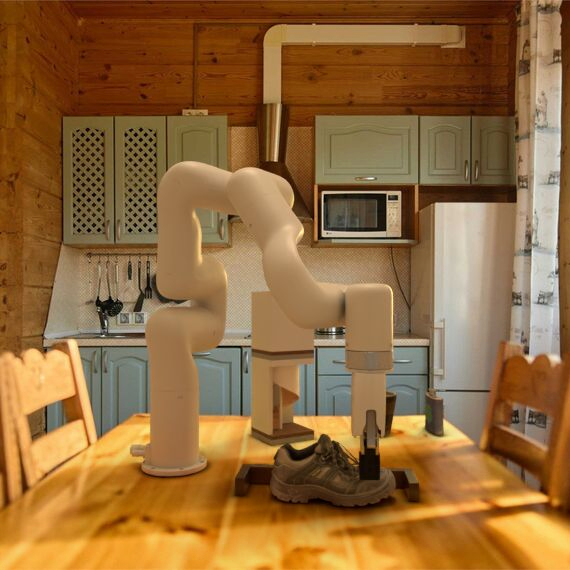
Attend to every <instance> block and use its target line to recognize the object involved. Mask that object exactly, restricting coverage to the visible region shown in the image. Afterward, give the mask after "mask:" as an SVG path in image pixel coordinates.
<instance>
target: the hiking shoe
mask: <svg viewBox="0 0 570 570" xmlns="http://www.w3.org/2000/svg"><path fill="white" fill-rule="evenodd" d="M343 448H344V449H343ZM344 450H345V451H344ZM272 460H273V465H274V468H273V470H272V478H271V481H270V484H269V489H270V492H271V494H272V495H273V496H275V497H277V499H278V500H279V501H280V500H281V501H283V502H287V503H289V502H290V501H291V503H294V504H297V503H298V502H299V503H300V504H308V502H309V500H313V499H320V500H323V501H326V502H331V504H332V505H333V506H337V507H341V506H343V507H352V508H353V507H355V506H359V507H362V506H366V505H369V504H371V505H373V504H377V503H380V502H381V500H382V499H387V498H389V496H390V495H392V494H393V493H395V490H396V489H397V488H396V482H395V477H394V475H393V473H392V472H391V471H390V470H389V469H385V468H386V467H383V466H380V480H361V479H360V478H359V458H357V457H355V456H354V455H353V454H352V453H351V452H350V451H349V450H348V449H347V448H346V447H345V446H343V445H341V443H340V442H339V441H336V440H335V439H333V440H332V438H331V437H330V436H329V434H327V433H322V434H320V435H319V438H318V439H317V442H313V443H312V444H310V445H308V446H306V447H304V448H301V449H300V448H299V449H297V448H295V447H294V446H292V445H291V443H285V444H281V446H279V448H278V449H277V450H276V452H275V454H274V456H273V458H272ZM349 460H351V461H352V462H353V463H351V462H350V461H349Z"/></svg>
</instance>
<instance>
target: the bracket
mask: <svg viewBox="0 0 570 570" xmlns="http://www.w3.org/2000/svg"><path fill="white" fill-rule="evenodd" d="M273 468H274V464H265V463H264V464H263V463H262V464H261V463H260V464H259V463H242V464H241V466H240V467H239V470H238V471H237V473H236V475H235V477H234V496H238V497H239V496H240V497H243V496H244V497H245V494H246V492H247V490H248V488H249V486H250V484H253V485H254V484H255V485H258V484H259V485H270V481H271V478H272V470H273ZM384 468H385V469H389V470H390V471H391V472H392V473H393V475H394V477H395V482H396V488H395V489H404V491H405V494H406V497H407V499H408V502H414V503H415V502H420V483H419V481H418V478H417V476H416V474H415V471H414V470H413V468H403V467H384Z"/></svg>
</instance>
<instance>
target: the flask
mask: <svg viewBox="0 0 570 570" xmlns="http://www.w3.org/2000/svg"><path fill="white" fill-rule="evenodd" d="M437 391H438V389H437V388H436V389H434V388H428V392H425V394H424V395H425V396H424V397H425V398H424V399H425V403H424V405H425V406H424V407H425V408H424V409H425V411H424V413H425V414H424V417H425V419H424V430H425V431H426V432H428V433H430V434H431V435H434V436H435V437H441V436H444V433H445V432H444V429H445V428H444V398H442V397H440V396H438V395H437Z"/></svg>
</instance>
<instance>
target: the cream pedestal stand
mask: <svg viewBox="0 0 570 570" xmlns="http://www.w3.org/2000/svg"><path fill="white" fill-rule="evenodd" d="M250 293H251V297H250V298H251V301H250V303H251V309H250V310H251V314H250V315H251V321H250V322H251V324H250V325H251V329H250V331H251V333H250V334H251V336H250V337H251V340H250V341H251V343H250V344H251V345H250V347H251V348H250V349H251V352H250V353H251V355H250V357H251V358H250V360H251V361H250V362H251V365H250V367H251V368H250V369H251V370H250V373H251V375H250V377H251V379H250V386H251V387H250V388H251V389H250V397H251V398H250V402H251V403H250V413H251V414H250V415H251V416H250V418H251V419H250V433H251V434H250V435H251V436H252V437H254V438H256V439H257V440H260V441H262V442H264V443H266V444H268V445H270V446H276V445H284V444H287V443H288V444H291V443H297V442H304V441H310V440H311V441H312V440H314V439H315V430H314V429H312V428H309V427H308V426H307V427H306V426H304V425H303V424H299V423H297V422H294V404H295V403H297V402H298V401H299V400H300V367H299V366H302V365H303V366H304V365H314V364H315V329H303V328H300V327H298V326H297V325H295V324H294V323H293V322H291V321H290V320H289V319H288V317H287V316H286V315H285V314H284V312H283V311H282V309H281V308H280V306H279V305H278V303H277V302H276V300H275V298H274V297H273V295H272V293H271V292H270V290H263V291H262V290H261V291H251V292H250Z"/></svg>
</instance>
